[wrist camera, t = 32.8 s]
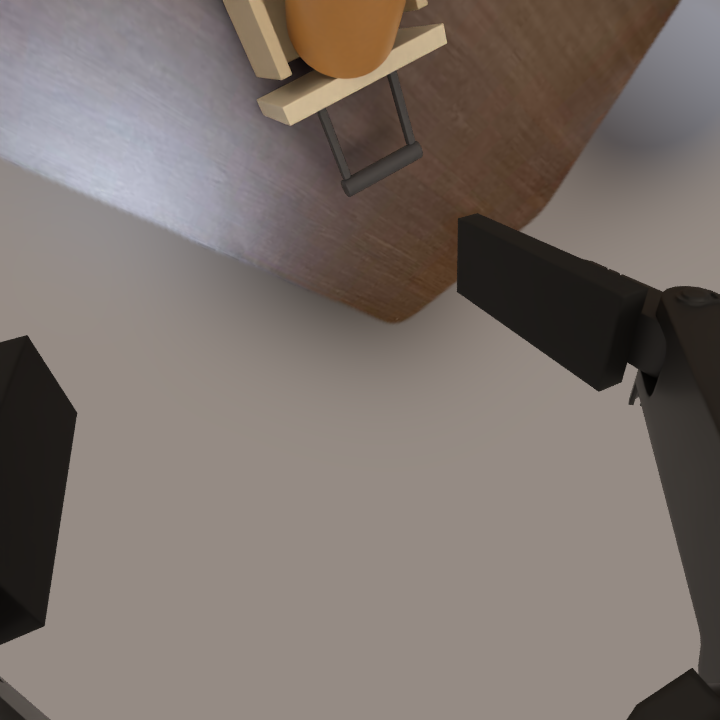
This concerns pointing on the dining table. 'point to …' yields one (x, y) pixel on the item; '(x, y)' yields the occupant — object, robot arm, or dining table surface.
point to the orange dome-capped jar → (343, 33)
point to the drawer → (328, 80)
